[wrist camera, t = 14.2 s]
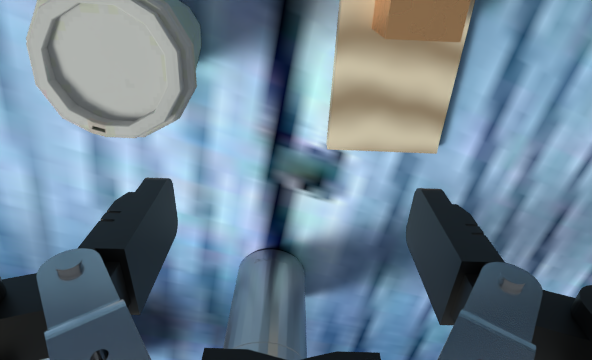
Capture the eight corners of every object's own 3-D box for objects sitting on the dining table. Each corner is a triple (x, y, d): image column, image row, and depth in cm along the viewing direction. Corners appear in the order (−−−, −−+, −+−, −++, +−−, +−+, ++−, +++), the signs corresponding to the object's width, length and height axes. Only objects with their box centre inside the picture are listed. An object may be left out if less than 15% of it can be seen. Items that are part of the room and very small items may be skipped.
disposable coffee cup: (120, -48, 33) (5, -61, 20) (239, -6, 34) (204, 10, 21) (110, 68, 38) (12, 120, 25) (214, 100, 39) (174, 165, 26)
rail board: (432, 147, 42) (444, 163, 39) (326, 143, 42) (329, 159, 38) (490, -91, 31) (514, -98, 28) (348, -98, 31) (355, -107, 28)
